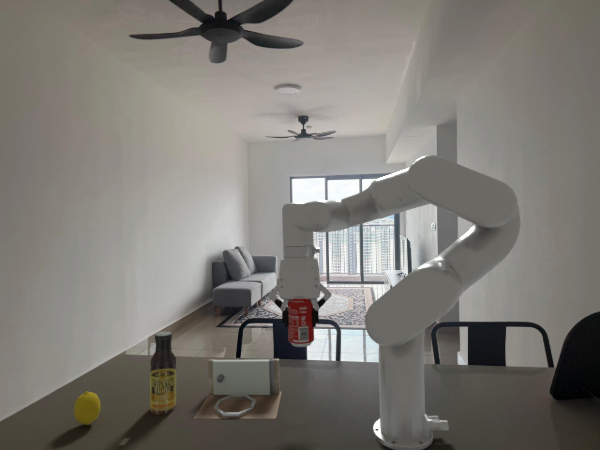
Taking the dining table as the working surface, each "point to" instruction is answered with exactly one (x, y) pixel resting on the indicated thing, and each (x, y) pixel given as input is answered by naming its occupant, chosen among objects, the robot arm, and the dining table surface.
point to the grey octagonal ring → (234, 414)
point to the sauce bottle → (163, 375)
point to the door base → (242, 401)
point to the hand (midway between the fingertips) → (300, 325)
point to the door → (243, 377)
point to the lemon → (87, 408)
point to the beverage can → (300, 322)
